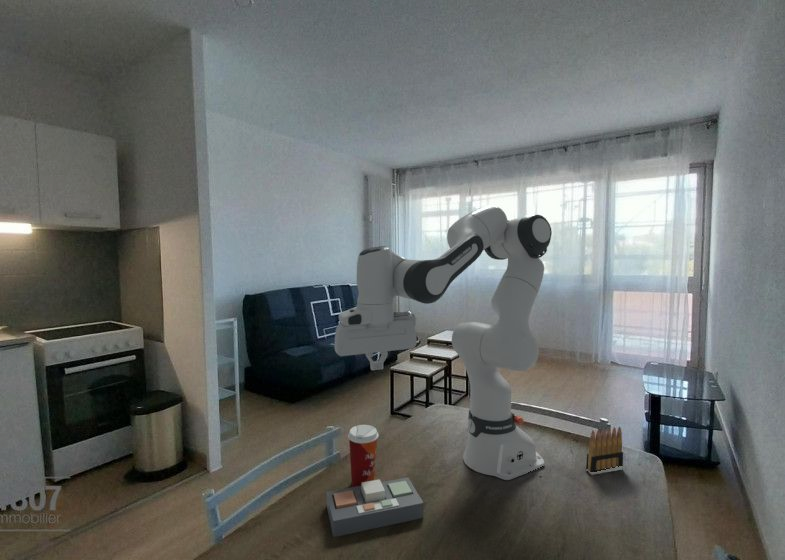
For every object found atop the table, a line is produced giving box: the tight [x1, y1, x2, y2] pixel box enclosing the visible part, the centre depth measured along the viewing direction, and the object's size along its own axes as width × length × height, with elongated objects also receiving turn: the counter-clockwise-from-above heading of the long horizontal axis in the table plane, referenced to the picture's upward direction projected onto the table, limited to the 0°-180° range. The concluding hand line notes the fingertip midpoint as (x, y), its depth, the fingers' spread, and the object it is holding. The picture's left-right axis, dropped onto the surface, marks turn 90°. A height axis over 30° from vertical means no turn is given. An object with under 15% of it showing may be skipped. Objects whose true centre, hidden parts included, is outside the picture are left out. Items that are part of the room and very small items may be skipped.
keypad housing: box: [326, 477, 425, 538], centre depth 86 cm, size 20×10×4 cm, turn 108°
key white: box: [361, 479, 385, 503], centre depth 87 cm, size 4×4×2 cm
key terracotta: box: [333, 490, 357, 509], centre depth 85 cm, size 4×4×2 cm
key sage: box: [388, 481, 412, 498], centre depth 89 cm, size 4×4×2 cm
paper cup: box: [347, 424, 379, 487], centre depth 96 cm, size 8×8×14 cm
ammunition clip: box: [585, 426, 624, 472], centre depth 103 cm, size 11×2×12 cm, turn 105°
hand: (376, 369), depth 93 cm, fingers closed
